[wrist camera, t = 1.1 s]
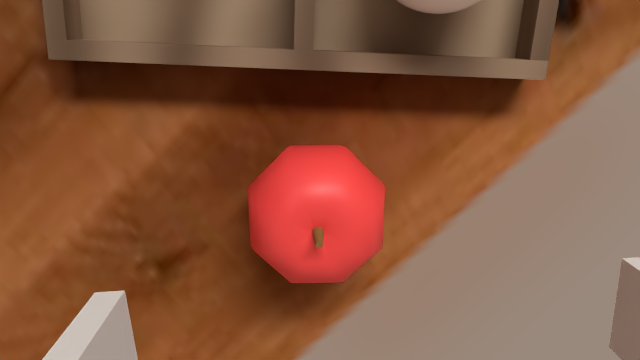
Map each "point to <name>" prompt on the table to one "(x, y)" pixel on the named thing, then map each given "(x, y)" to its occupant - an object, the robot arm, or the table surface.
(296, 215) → the apple
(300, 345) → the table surface
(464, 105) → the table surface
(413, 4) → the ceramic ball
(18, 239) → the table surface
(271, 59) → the walnut well tray
